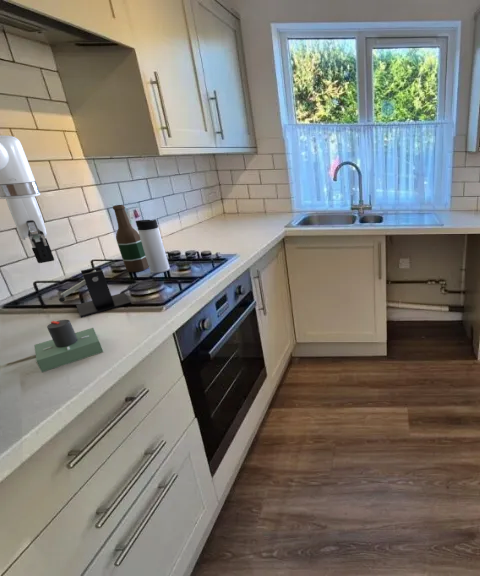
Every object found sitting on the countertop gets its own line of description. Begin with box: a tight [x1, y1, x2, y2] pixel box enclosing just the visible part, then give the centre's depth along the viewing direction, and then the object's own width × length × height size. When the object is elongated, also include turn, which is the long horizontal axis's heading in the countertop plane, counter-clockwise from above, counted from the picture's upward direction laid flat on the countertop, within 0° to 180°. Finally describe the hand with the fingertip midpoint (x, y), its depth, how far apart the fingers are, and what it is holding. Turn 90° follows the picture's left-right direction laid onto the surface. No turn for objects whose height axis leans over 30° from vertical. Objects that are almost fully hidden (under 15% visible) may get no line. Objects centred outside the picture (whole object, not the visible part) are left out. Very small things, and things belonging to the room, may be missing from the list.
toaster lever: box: [56, 270, 96, 303], centre depth 101 cm, size 11×6×2 cm, turn 133°
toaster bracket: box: [75, 266, 132, 319], centre depth 104 cm, size 12×10×12 cm
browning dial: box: [46, 319, 78, 347], centre depth 82 cm, size 4×4×5 cm
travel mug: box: [135, 219, 171, 274], centre depth 129 cm, size 6×7×20 cm
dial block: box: [34, 327, 104, 373], centre depth 84 cm, size 11×9×3 cm
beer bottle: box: [112, 204, 150, 273], centre depth 133 cm, size 8×8×24 cm
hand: (45, 257), depth 94 cm, fingers open, 9 cm apart
